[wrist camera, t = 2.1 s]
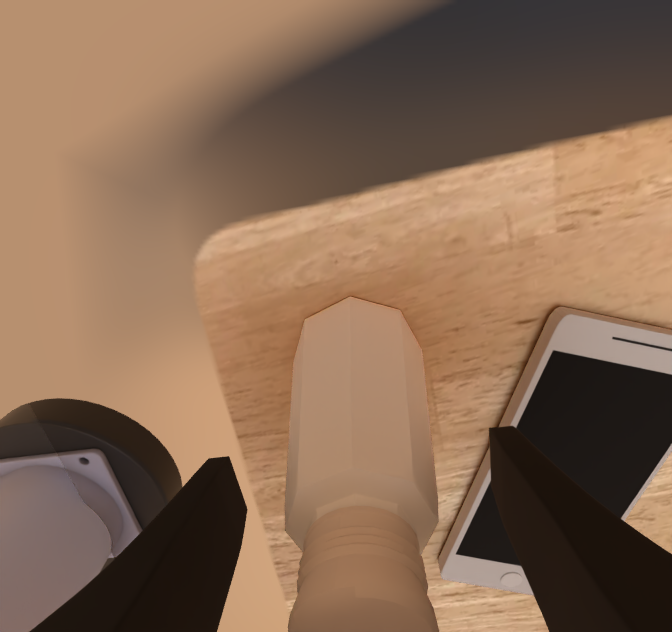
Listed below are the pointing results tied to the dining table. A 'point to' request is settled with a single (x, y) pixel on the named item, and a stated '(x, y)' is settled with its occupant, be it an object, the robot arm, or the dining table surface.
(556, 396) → the smartphone
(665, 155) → the dining table surface
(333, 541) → the salt shaker
